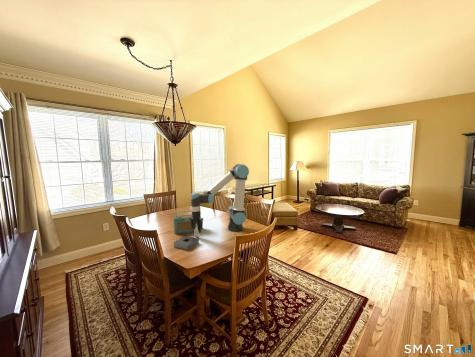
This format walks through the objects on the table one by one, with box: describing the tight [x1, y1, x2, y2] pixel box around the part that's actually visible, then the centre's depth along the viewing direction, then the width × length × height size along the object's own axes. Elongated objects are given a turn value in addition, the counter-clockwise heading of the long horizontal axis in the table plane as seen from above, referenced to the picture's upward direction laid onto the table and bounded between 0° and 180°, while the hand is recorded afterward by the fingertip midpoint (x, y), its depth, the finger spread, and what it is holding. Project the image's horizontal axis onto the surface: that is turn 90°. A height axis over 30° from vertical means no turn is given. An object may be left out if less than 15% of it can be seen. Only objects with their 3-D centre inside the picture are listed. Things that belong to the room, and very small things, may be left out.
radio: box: [173, 210, 202, 235], centre depth 193 cm, size 26×11×20 cm, turn 102°
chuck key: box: [194, 224, 200, 239], centre depth 176 cm, size 3×6×12 cm, turn 153°
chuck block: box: [173, 235, 200, 251], centre depth 163 cm, size 14×14×4 cm
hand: (197, 236), depth 177 cm, fingers closed on chuck key, 3 cm apart
